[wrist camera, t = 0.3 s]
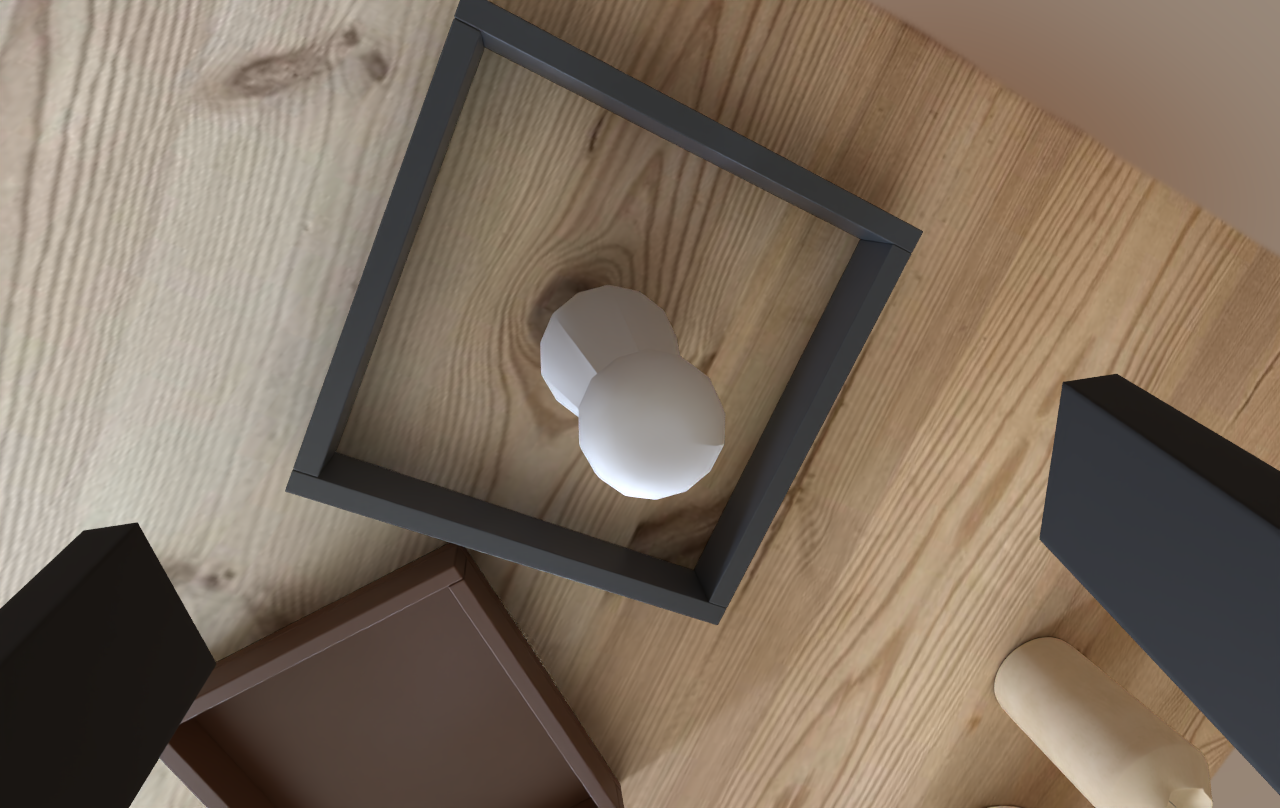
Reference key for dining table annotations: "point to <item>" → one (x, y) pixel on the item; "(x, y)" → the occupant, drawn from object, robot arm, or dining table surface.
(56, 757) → the robot arm
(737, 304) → the dining table surface
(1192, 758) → the candle
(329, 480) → the open gray frame
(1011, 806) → the tall pillar cylinder
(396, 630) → the tray
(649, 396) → the salt shaker
